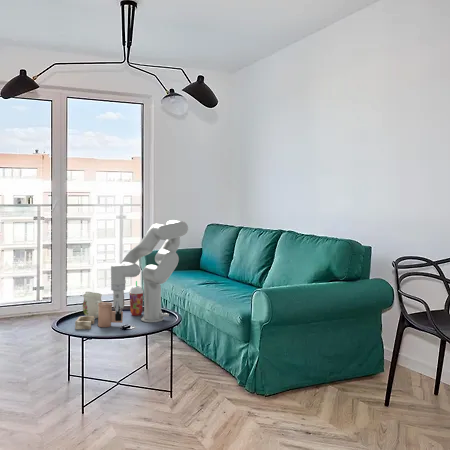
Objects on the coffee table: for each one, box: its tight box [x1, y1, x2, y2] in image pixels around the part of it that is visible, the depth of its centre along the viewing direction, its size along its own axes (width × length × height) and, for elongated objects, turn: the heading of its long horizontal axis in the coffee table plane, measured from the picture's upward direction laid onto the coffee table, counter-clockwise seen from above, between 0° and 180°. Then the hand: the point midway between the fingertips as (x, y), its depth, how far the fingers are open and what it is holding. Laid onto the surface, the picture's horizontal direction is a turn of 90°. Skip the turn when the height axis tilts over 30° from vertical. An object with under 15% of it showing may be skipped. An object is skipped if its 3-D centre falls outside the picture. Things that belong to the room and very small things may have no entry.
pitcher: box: [82, 291, 103, 320], centre depth 291 cm, size 11×18×14 cm, turn 39°
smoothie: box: [128, 280, 144, 317], centre depth 299 cm, size 8×8×20 cm
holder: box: [74, 315, 95, 330], centre depth 274 cm, size 8×11×4 cm
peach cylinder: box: [97, 301, 124, 328], centre depth 275 cm, size 13×8×12 cm, turn 95°
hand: (118, 320), depth 276 cm, fingers closed on peach cylinder, 1 cm apart
